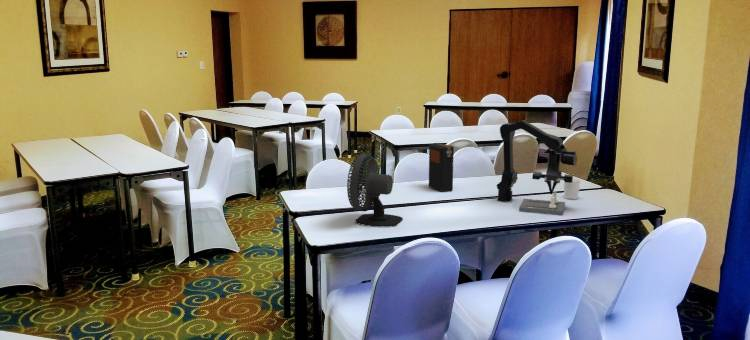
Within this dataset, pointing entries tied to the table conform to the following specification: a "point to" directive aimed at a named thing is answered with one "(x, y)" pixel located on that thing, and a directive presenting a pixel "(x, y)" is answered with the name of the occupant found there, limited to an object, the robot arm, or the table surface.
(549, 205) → the block
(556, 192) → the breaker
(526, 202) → the board
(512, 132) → the robot arm
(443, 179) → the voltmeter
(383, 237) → the table surface
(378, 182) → the fan
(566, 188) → the white cup
